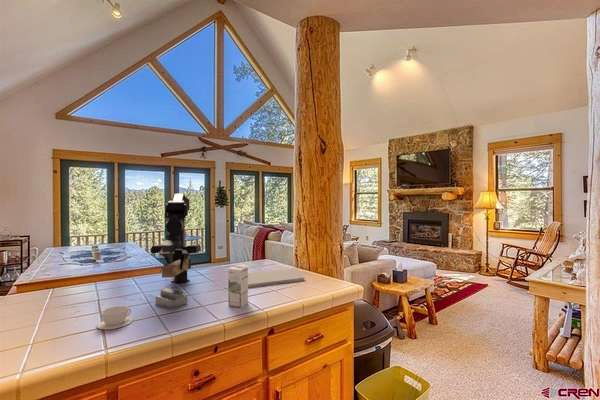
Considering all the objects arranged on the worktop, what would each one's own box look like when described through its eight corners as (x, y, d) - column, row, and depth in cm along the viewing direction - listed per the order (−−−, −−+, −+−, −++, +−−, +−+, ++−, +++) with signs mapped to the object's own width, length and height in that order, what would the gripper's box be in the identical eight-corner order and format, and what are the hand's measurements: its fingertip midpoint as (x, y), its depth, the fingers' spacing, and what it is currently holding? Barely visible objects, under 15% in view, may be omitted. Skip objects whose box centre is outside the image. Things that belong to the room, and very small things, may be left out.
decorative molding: (303, 286, 150) (295, 276, 159) (304, 277, 149) (296, 268, 158) (235, 295, 136) (231, 283, 145) (236, 285, 135) (232, 274, 144)
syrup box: (248, 302, 117) (248, 266, 117) (240, 308, 112) (240, 269, 112) (235, 301, 119) (235, 265, 119) (227, 306, 114) (227, 268, 114)
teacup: (106, 333, 91) (106, 318, 91) (90, 326, 96) (90, 311, 96) (138, 322, 99) (138, 308, 99) (122, 315, 105) (122, 302, 105)
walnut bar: (179, 268, 130) (179, 259, 130) (188, 268, 130) (188, 259, 130) (161, 277, 114) (161, 266, 114) (172, 277, 114) (172, 266, 114)
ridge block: (155, 304, 116) (155, 291, 116) (172, 298, 122) (172, 286, 122) (170, 309, 110) (170, 295, 110) (187, 303, 116) (187, 290, 116)
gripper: (143, 233, 115) (142, 274, 114) (191, 233, 114) (191, 274, 114) (157, 231, 126) (157, 268, 126) (201, 231, 125) (201, 268, 125)
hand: (176, 270), depth 122 cm, fingers closed on walnut bar, 4 cm apart
